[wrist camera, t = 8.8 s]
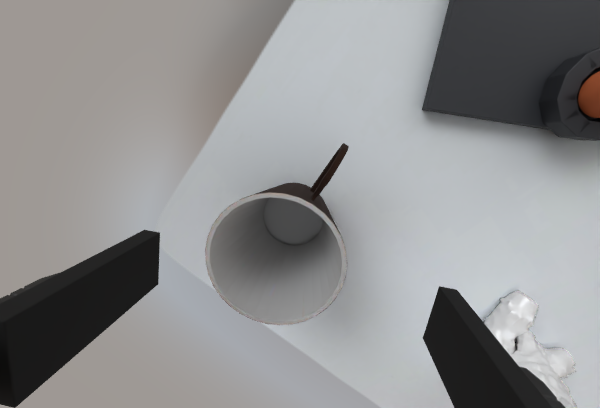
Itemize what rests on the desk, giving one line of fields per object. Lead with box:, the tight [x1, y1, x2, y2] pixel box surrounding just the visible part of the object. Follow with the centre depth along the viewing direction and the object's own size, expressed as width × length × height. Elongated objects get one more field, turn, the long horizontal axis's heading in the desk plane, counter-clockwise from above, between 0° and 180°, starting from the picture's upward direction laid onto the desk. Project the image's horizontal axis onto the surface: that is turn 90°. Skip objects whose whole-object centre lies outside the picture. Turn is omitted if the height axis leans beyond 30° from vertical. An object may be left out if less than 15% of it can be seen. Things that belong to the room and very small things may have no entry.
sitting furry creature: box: [484, 290, 577, 408], centre depth 22 cm, size 10×9×12 cm
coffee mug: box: [205, 143, 349, 325], centre depth 22 cm, size 12×9×10 cm
